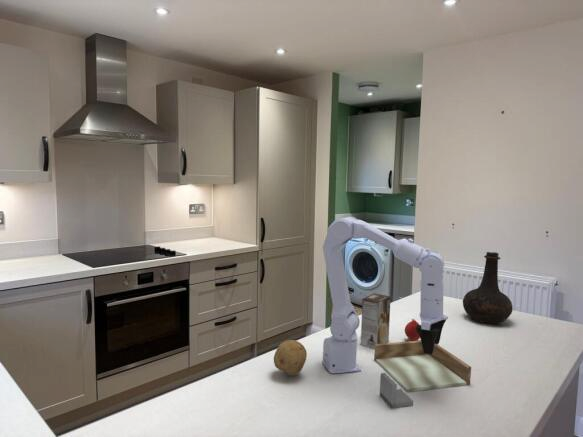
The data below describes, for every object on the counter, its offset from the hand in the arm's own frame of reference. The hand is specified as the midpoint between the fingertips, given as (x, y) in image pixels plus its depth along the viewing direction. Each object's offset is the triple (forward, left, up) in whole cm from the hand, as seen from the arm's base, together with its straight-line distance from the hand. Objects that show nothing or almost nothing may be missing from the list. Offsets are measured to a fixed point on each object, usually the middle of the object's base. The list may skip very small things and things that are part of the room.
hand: (431, 348), depth 107 cm
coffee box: (-2, +29, -11) cm, 31 cm away
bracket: (-13, -5, -11) cm, 17 cm away
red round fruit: (+12, +28, -11) cm, 33 cm away
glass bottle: (+54, +42, -11) cm, 70 cm away
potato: (-36, +13, -11) cm, 39 cm away
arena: (+1, +7, -11) cm, 13 cm away
